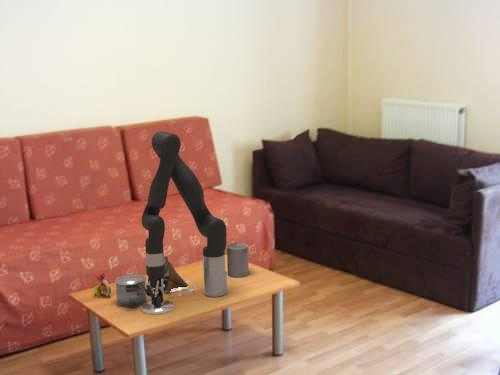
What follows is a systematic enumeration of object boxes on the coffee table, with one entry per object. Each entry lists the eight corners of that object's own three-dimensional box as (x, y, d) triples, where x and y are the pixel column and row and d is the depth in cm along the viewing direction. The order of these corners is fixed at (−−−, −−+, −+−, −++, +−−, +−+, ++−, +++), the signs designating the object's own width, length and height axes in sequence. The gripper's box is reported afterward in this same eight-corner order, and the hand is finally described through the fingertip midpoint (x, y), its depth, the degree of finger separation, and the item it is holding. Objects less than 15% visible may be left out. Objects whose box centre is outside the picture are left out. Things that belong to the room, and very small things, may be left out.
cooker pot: (116, 295, 301) (114, 273, 299) (145, 292, 304) (144, 270, 302) (117, 311, 284) (115, 287, 282) (148, 308, 287) (147, 284, 284)
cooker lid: (172, 301, 294) (171, 288, 293) (175, 312, 281) (175, 299, 280) (140, 304, 291) (139, 291, 290) (142, 316, 279) (141, 302, 278)
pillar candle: (225, 272, 327) (224, 241, 323) (245, 269, 330) (244, 238, 326) (231, 279, 318) (229, 247, 314) (251, 276, 321) (250, 244, 317)
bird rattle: (114, 299, 304) (101, 287, 308) (119, 278, 298) (106, 266, 303) (102, 303, 299) (89, 291, 304) (107, 282, 294) (94, 270, 299)
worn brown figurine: (167, 300, 302) (156, 262, 296) (161, 296, 306) (151, 258, 300) (191, 288, 307) (181, 251, 301) (185, 285, 312) (175, 248, 306)
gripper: (159, 256, 290) (161, 296, 294) (136, 266, 278) (138, 307, 282) (173, 259, 286) (175, 299, 289) (150, 269, 274) (153, 311, 278)
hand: (157, 303), depth 286 cm, fingers closed on cooker lid, 3 cm apart
